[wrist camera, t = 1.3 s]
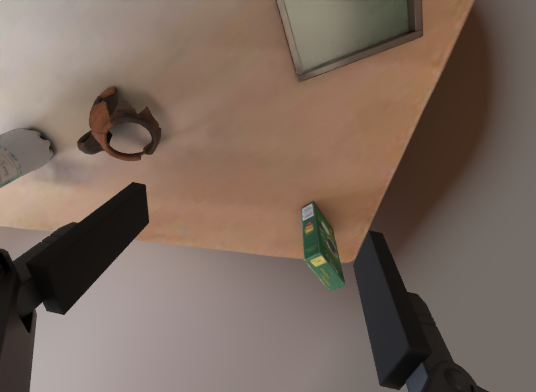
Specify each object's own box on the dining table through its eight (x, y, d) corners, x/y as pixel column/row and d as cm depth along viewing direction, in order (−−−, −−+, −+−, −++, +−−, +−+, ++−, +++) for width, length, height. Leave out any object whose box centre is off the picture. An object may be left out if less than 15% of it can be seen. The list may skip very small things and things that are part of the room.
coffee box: (298, 206, 47) (302, 261, 36) (312, 199, 46) (321, 253, 35) (319, 235, 50) (329, 293, 39) (333, 229, 49) (347, 287, 38)
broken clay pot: (124, 68, 36) (128, 97, 31) (170, 116, 44) (178, 145, 39) (58, 115, 37) (51, 150, 32) (114, 154, 45) (115, 187, 40)
